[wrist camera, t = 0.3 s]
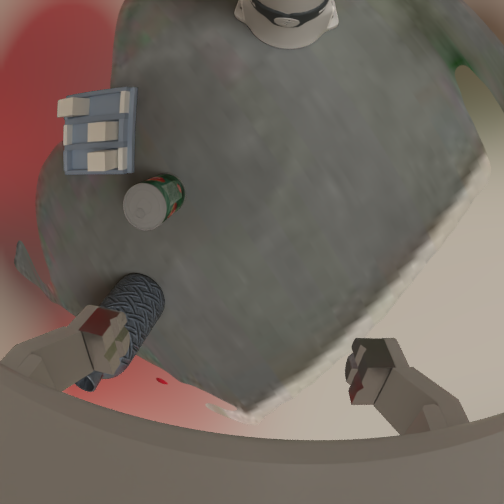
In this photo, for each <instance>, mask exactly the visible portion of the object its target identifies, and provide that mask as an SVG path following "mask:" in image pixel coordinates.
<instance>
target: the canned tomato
mask: <svg viewBox="0 0 504 504" xmlns="http://www.w3.org/2000/svg"><path fill="white" fill-rule="evenodd" d="M185 197H186V190H185V187H184V184H183V183H182V181H181V180H180V179H179V178H178V177H177V176H175V175H173V174H169V173H163V174H159V175H157V176H155V177H152V178H150V179H148V180H145V181H143V182H141V183H139V184H136V185H134V186H132V187H131V188H130V189H129V190H128V191H127V192H126V194H125V196H124V200H123V211H124V214H125V216H126V218H127V220H128V221H129V223H130V224H132V225H133V226H134V227H136V228H138V229H140V230H153V229H155V228H157V227H158V226H159V225H161V223H163V222H164V221H165V220H166V219H167V218H169V217H170V216H171V215H172V214H173V213H174V212H176V211H177V210H178V209H179V208H180V207H181V206H182V205H183V203H184V201H185Z"/></svg>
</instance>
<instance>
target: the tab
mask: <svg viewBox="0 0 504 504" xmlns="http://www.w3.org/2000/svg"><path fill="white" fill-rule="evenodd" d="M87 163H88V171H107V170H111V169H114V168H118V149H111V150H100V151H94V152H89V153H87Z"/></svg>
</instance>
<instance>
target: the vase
mask: <svg viewBox="0 0 504 504" xmlns="http://www.w3.org/2000/svg"><path fill="white" fill-rule="evenodd" d="M164 305H165V299H164V295H163V292H162V290H161V289H160V287H159V286H158V285H157V283H156V282H154V281H153V280H152V279H150V278H149V277H147V276H145V275H141V274H130V275H127V276H125V277H123V278H122V279H121V280H120V281H119V282H118V283H117V284H116V286H115V287H114V288H113V289H112V290H111V292H110V293H109V294H108V295H107V297H106V298H105V299H104V300H103V301H102V303H101V304H100V305H99V307H104V308H108V309H112V310H117V311H122V312H124V313H125V314H126V319H127V322H126V324H125V325H124V326H125V327H126V329H127V330H128V331H129V335H130V344H129V348H128V351H127V353H126V355H125V356H123V357H121V358H119V360H120V365H119V366H118V368H117V370H116V371H115V373H114V375H111V374H107V373H103V372H99V371H95V370H93V372H92V373H90V374H88V375H87V376H85V377H84V378H82V379H81V380H79V381H77V382H76V383H75V384H76V385H77V386H78V387H79V388H81V389H83V390H85V391H89V392H92V391H94V390H95V389H96V387H97V385H98V384H99V382H100V381H101V379H109V378H113V377H116V376H118V375H119V374H121V373H122V372H123V371H124V370H125V369H126V368H127V367H128V366H129V364H130V362H131V361H132V359H133V358H134V356H135V355H136V353H137V352H138V350H139V348H140V347H141V345H142V344H143V342H144V341H145V339H146V337H147V336H148V334H149V333H150V331H151V330H152V328H153V327H154V325H155V324H156V322H157V320H158V319H159V317H160V316H161V314H162V312H163V310H164Z"/></svg>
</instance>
